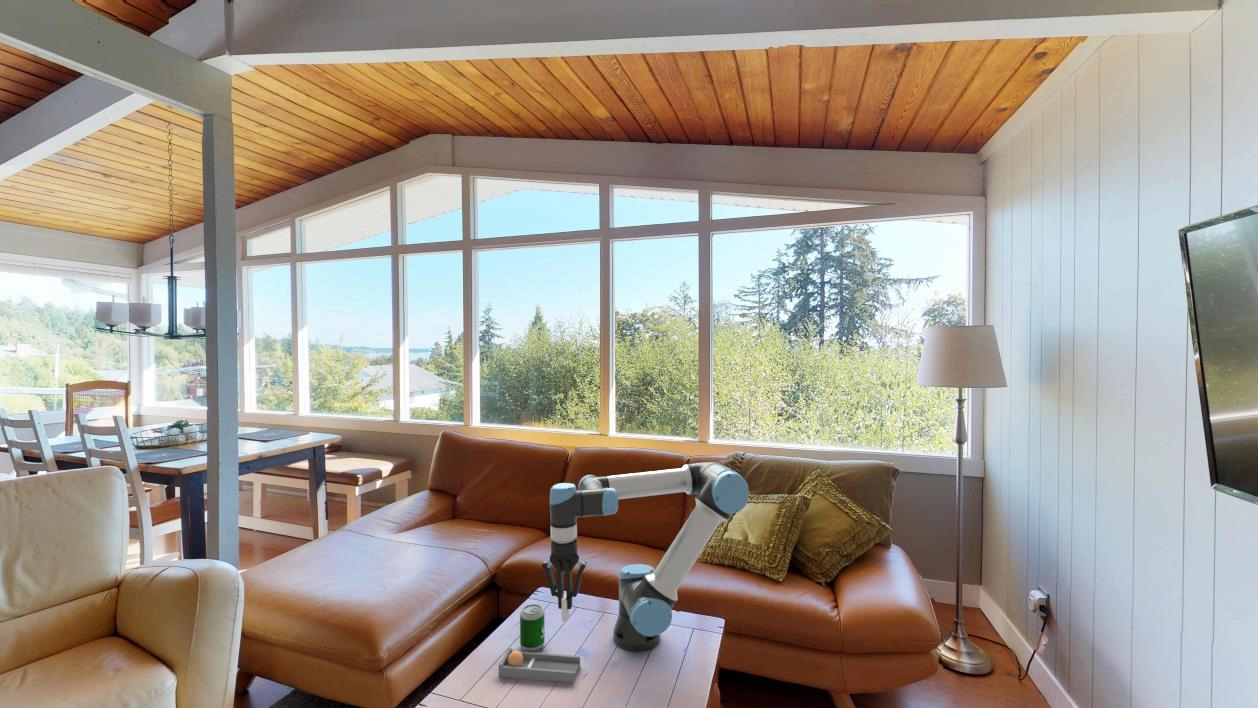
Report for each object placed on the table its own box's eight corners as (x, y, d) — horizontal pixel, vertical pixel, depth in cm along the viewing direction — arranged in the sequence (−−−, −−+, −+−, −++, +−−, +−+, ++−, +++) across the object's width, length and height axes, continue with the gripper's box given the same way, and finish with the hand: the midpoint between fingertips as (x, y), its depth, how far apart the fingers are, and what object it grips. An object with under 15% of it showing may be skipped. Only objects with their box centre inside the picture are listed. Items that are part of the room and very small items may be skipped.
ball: (523, 663, 160) (526, 650, 159) (518, 673, 155) (521, 661, 155) (509, 657, 160) (513, 645, 159) (504, 668, 156) (507, 655, 155)
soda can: (539, 654, 165) (539, 616, 165) (516, 651, 167) (516, 613, 166) (547, 641, 173) (547, 604, 172) (525, 638, 174) (525, 601, 174)
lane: (580, 665, 160) (580, 653, 160) (574, 683, 152) (574, 670, 152) (508, 659, 163) (508, 648, 162) (498, 676, 154) (498, 664, 154)
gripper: (588, 534, 158) (590, 613, 159) (545, 533, 160) (547, 611, 160) (583, 544, 151) (585, 627, 151) (538, 542, 152) (539, 625, 153)
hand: (565, 619), depth 156 cm, fingers closed
